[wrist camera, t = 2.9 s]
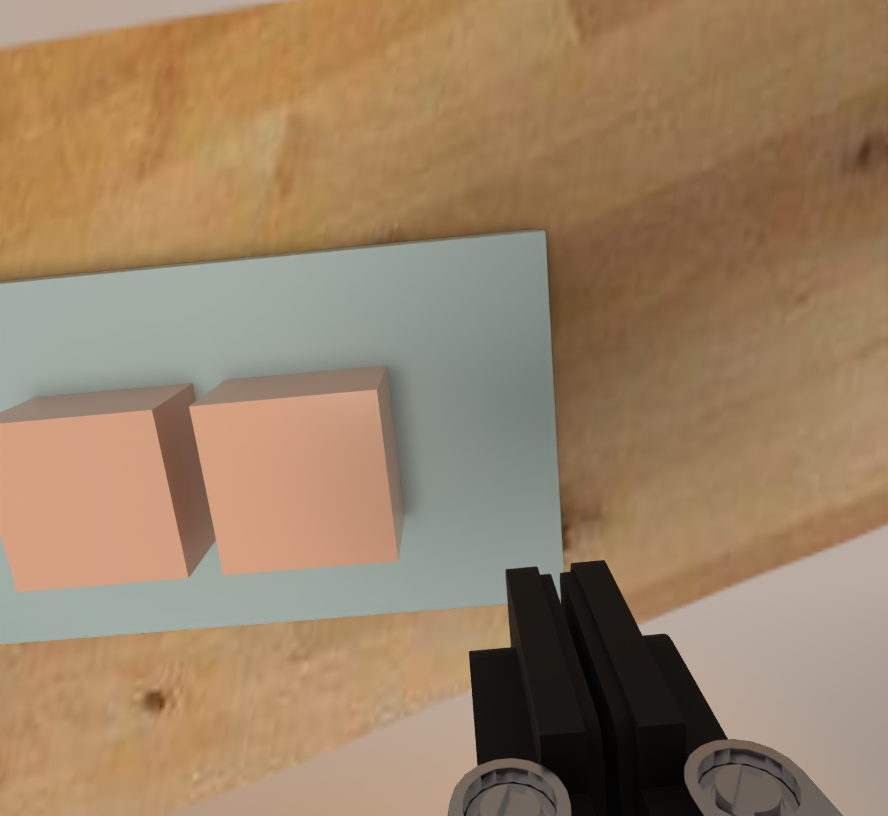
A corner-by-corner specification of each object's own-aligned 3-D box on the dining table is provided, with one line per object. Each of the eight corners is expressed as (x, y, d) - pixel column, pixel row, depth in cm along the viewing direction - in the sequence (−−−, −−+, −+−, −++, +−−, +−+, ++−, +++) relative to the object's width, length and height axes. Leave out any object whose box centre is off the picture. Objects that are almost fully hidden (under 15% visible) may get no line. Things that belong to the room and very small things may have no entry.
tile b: (192, 382, 21) (151, 409, 18) (221, 531, 22) (188, 578, 20) (33, 397, 21) (-32, 426, 18) (72, 544, 23) (17, 592, 20)
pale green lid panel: (534, 228, 22) (545, 230, 20) (554, 563, 25) (565, 599, 23) (-67, 287, 23) (-128, 296, 21) (26, 605, 26) (-17, 645, 24)
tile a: (386, 365, 21) (376, 389, 18) (404, 516, 22) (398, 561, 19) (225, 380, 21) (189, 406, 18) (252, 529, 22) (223, 575, 20)
